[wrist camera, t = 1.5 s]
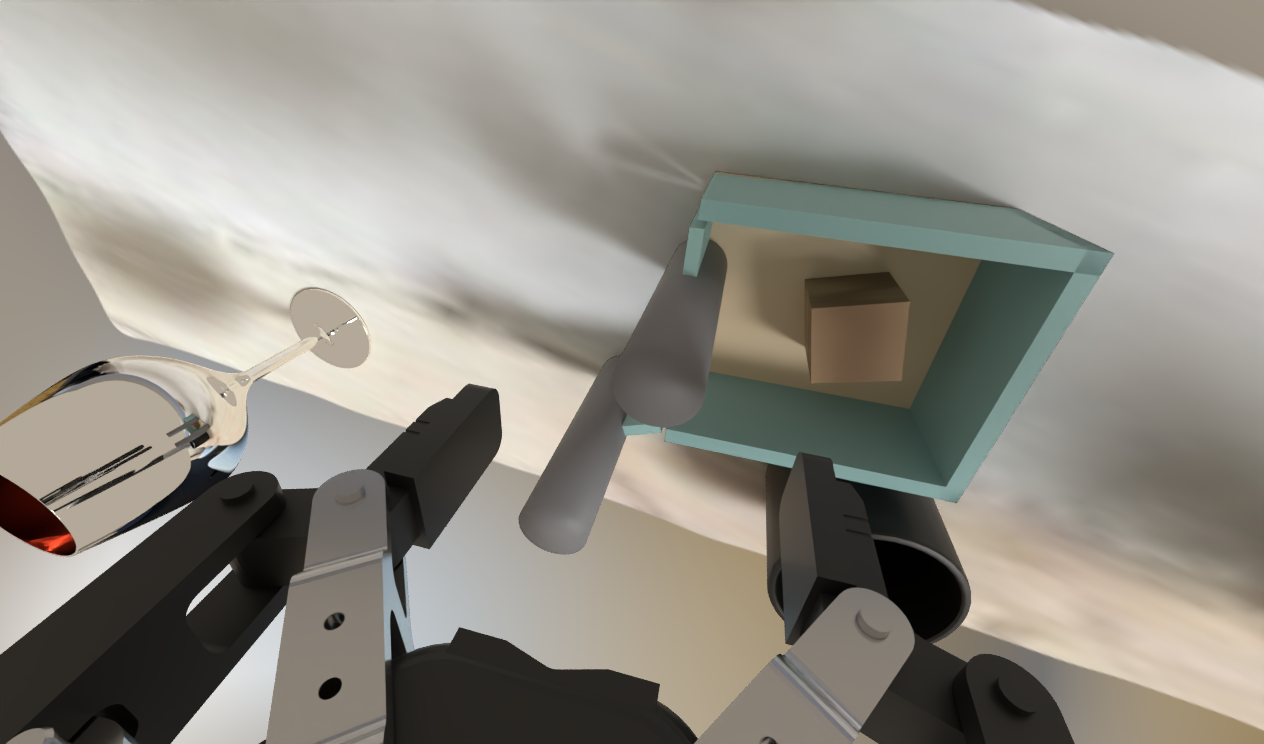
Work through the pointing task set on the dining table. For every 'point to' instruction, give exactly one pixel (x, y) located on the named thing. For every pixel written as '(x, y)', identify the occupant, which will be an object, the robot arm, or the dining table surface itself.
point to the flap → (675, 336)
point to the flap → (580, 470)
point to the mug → (892, 555)
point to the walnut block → (855, 328)
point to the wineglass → (143, 435)
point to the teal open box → (935, 341)
